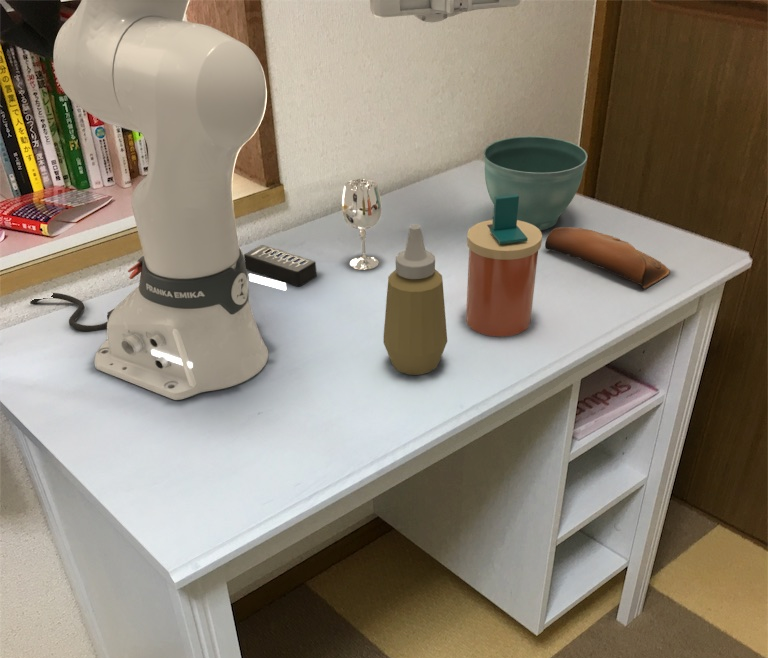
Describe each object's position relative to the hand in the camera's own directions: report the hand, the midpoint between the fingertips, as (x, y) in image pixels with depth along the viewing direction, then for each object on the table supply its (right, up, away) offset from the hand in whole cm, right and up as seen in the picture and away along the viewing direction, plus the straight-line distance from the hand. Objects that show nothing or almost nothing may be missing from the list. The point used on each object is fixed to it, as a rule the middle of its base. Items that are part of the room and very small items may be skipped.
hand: (461, 4), depth 102 cm
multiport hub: (-25, -27, +22) cm, 43 cm away
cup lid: (+6, -29, +2) cm, 30 cm away
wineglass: (-13, -26, +23) cm, 37 cm away
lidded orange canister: (+6, -37, +9) cm, 39 cm away
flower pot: (+14, -15, +33) cm, 39 cm away
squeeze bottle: (-6, -45, +2) cm, 45 cm away
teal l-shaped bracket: (+6, -29, 0) cm, 30 cm away
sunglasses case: (+24, -26, +21) cm, 41 cm away
